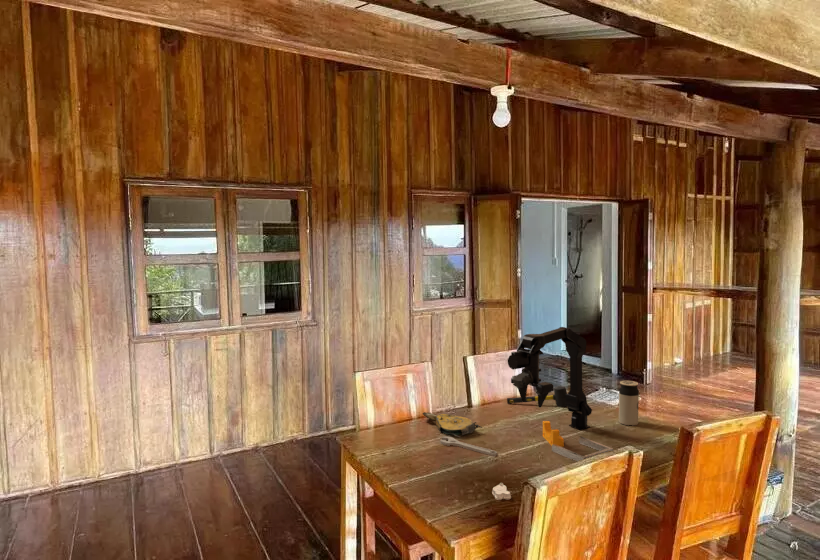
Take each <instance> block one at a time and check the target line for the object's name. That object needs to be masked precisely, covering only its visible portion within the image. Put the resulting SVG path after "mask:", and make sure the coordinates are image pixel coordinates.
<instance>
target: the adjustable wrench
mask: <svg viewBox="0 0 820 560" xmlns="http://www.w3.org/2000/svg"><path fill="white" fill-rule="evenodd" d="M446 440H448V441H446ZM439 443H440V445H442V444H443V445H442V446H446V445H447V446H446V447H451V446H450V445H453V446H452V447H458V446H459V447H458V448H462V447H463V449H465V448H466V450H468V451H469V450H470V451H474V452H477V453H481V454H484V455H488V456H492V457H496V456H497V455H498V454H497V453H498V451H496V450H494V449H493V450H492V449H489V448H485V447H481V446H477V445H473V444H471V443H466V442H462V441H459V440H458V439H455V438H454V437H453V436H442V437H441V439H440V440H439Z"/></svg>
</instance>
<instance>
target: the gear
mask: <svg viewBox="0 0 820 560" xmlns="http://www.w3.org/2000/svg"><path fill="white" fill-rule="evenodd" d="M491 493H492V495H493V497H494V499H495V500H498V501H501V500H502V499H504V500H510V499H512V495H511V491H510V490H509V491H508V489H507V486H506V485H504V483H503V482H500V483H499V484H497V485H496V486H493V488H492V491H491Z"/></svg>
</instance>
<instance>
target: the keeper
mask: <svg viewBox="0 0 820 560" xmlns="http://www.w3.org/2000/svg"><path fill="white" fill-rule="evenodd" d="M578 444H580V445H583V446H586V447H587V446H588V447H587V448H590V447H591V448H590V449H592V448H593V450H595V449H596V451H595V452H592V453H589V454H585V455H581V454H579V453H577V452H575V451H572V450H570V449H567V448H565V447H560V446H558V445H555V444H552V446H551V452H553V453H556V454H558V455H560V456H562V457H565V458H567V459H569V458H570V459H569V460H572V459H573V460H572V461H574V460H576V461H579V460H583V459H586V458H589V457H592V456H594V455H598V454H601V453H605V452H608V451H613V452H614V448H613V447H610V446H607V445H604V444H602V443H599V442H598V441H594V440H591V439H589V438H586V437H584V436H579V437H578ZM598 450H599V451H598ZM576 461H575V462H576Z"/></svg>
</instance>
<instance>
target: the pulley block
mask: <svg viewBox="0 0 820 560" xmlns="http://www.w3.org/2000/svg"><path fill="white" fill-rule="evenodd" d="M422 415H423V416H424V417H426V418H427V419H429V420H432V421H435V424H436V425H435V426H436V427H437V429H438V430H439V432H440V434H443V433H444V434H446V435H445V436H447V435H450V436H449V437H454V436H455V437H456V438H457V437H458V438H461V437H462V436H466V435H467V434H472V433H474V431H475V430H476V429H477V428H482V429H483V427H482V426H481V425H479V424H477V421H475V422H473V420H471V419H470V418H467V417H464V416H460V415H455V414H449V413H440V414H438V415H437V414H434V413H432V412H426V411H425V412H422ZM444 434H443V435H444Z"/></svg>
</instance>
